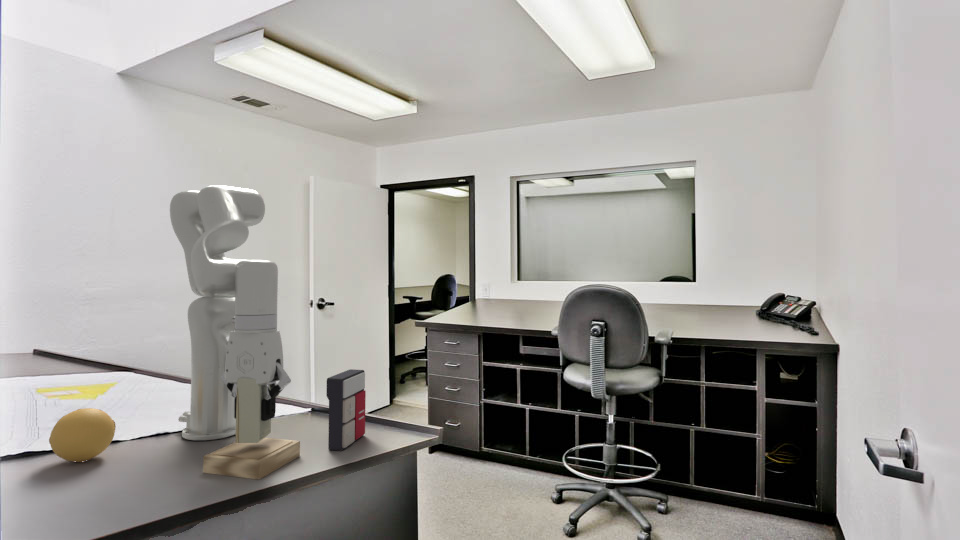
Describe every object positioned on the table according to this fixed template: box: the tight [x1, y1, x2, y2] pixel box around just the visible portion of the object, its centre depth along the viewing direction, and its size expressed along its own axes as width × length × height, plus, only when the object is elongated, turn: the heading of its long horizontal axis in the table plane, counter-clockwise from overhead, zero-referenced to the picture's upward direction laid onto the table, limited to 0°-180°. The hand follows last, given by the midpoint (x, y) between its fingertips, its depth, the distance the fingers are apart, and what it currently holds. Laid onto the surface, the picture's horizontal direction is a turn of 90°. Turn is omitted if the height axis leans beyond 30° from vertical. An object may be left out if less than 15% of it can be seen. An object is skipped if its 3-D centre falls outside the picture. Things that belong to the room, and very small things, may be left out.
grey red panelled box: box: [326, 368, 366, 452], centre depth 107 cm, size 11×4×15 cm, turn 168°
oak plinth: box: [202, 437, 301, 481], centre depth 94 cm, size 12×12×3 cm
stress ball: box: [48, 407, 116, 463], centre depth 95 cm, size 10×10×10 cm
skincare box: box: [235, 378, 272, 443], centre depth 94 cm, size 6×4×12 cm
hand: (254, 417), depth 94 cm, fingers closed on skincare box, 5 cm apart
